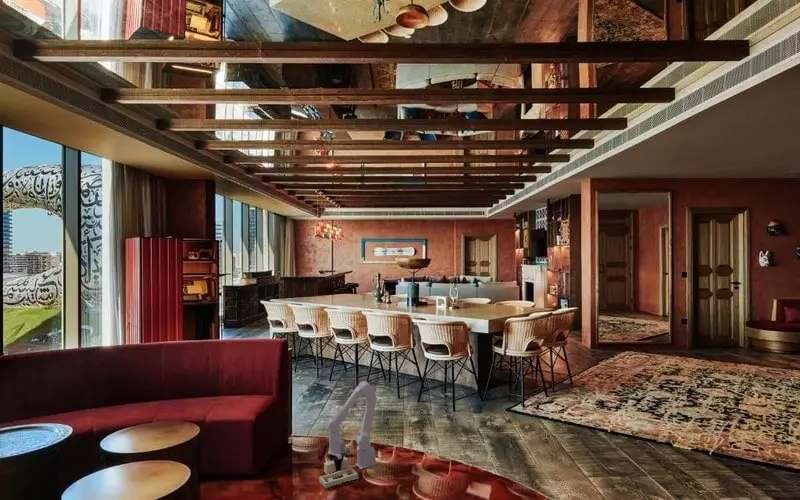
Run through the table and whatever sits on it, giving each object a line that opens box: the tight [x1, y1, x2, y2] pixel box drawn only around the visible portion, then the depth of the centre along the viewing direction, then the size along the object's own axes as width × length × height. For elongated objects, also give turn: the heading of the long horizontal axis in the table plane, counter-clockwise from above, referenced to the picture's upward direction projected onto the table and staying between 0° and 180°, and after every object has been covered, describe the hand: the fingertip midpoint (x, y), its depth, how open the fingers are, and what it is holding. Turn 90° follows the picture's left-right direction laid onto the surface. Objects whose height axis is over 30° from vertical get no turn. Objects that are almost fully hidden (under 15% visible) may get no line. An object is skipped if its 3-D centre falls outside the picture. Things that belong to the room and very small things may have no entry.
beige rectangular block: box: [323, 456, 349, 475], centre depth 229 cm, size 12×4×5 cm, turn 119°
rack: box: [318, 467, 359, 488], centre depth 217 cm, size 18×9×3 cm, turn 118°
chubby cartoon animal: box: [340, 438, 352, 456], centre depth 249 cm, size 7×12×8 cm, turn 67°
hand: (336, 468), depth 229 cm, fingers open, 6 cm apart
